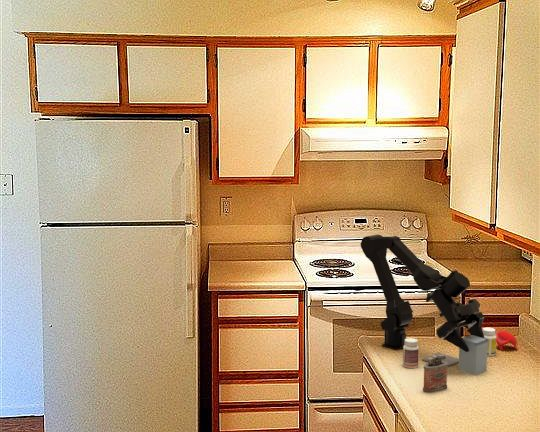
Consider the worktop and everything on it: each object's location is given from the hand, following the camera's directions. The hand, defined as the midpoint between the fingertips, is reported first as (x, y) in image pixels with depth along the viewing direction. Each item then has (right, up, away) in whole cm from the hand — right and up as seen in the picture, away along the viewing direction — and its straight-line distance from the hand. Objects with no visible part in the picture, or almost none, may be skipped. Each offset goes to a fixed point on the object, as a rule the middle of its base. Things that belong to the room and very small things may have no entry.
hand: (476, 348), depth 214 cm
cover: (-1, -7, +2) cm, 8 cm away
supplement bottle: (+9, -5, +16) cm, 19 cm away
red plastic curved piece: (+16, -4, +22) cm, 27 cm away
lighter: (-16, -10, -13) cm, 22 cm away
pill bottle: (-19, -7, +6) cm, 21 cm away
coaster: (-8, -6, +10) cm, 14 cm away
